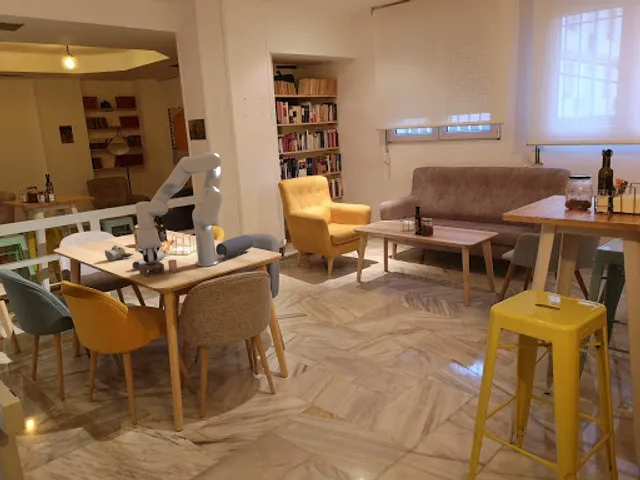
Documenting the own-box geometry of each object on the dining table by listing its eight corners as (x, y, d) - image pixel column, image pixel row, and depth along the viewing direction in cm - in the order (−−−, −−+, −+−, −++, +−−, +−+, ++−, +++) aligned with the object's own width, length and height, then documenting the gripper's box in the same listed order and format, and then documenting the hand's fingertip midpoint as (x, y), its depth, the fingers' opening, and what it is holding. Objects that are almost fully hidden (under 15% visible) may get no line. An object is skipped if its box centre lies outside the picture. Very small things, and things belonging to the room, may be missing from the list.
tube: (156, 251, 293) (130, 262, 270) (164, 248, 292) (138, 260, 268) (160, 260, 294) (134, 272, 270) (167, 257, 292) (142, 269, 269)
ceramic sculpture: (99, 246, 291) (123, 242, 303) (100, 261, 292) (124, 256, 304) (109, 248, 285) (133, 244, 296) (111, 263, 286) (134, 258, 298)
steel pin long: (154, 269, 265) (151, 246, 262) (157, 270, 261) (154, 248, 259) (147, 270, 262) (144, 248, 260) (149, 272, 259) (146, 249, 256)
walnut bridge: (158, 269, 269) (157, 260, 268) (164, 273, 261) (163, 264, 260) (139, 273, 264) (138, 264, 262) (145, 277, 255) (144, 268, 254)
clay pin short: (176, 270, 266) (174, 259, 265) (178, 271, 263) (177, 260, 261) (168, 271, 264) (167, 260, 263) (170, 273, 261) (169, 262, 259)
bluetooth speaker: (241, 249, 302) (240, 233, 300) (254, 251, 297) (253, 234, 295) (215, 259, 283) (214, 241, 281) (228, 260, 278) (227, 243, 276)
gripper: (160, 222, 264) (164, 256, 268) (127, 227, 255) (132, 263, 259) (164, 224, 258) (169, 259, 262) (131, 230, 249) (136, 265, 253)
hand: (150, 260), depth 261 cm, fingers closed on steel pin long, 4 cm apart
